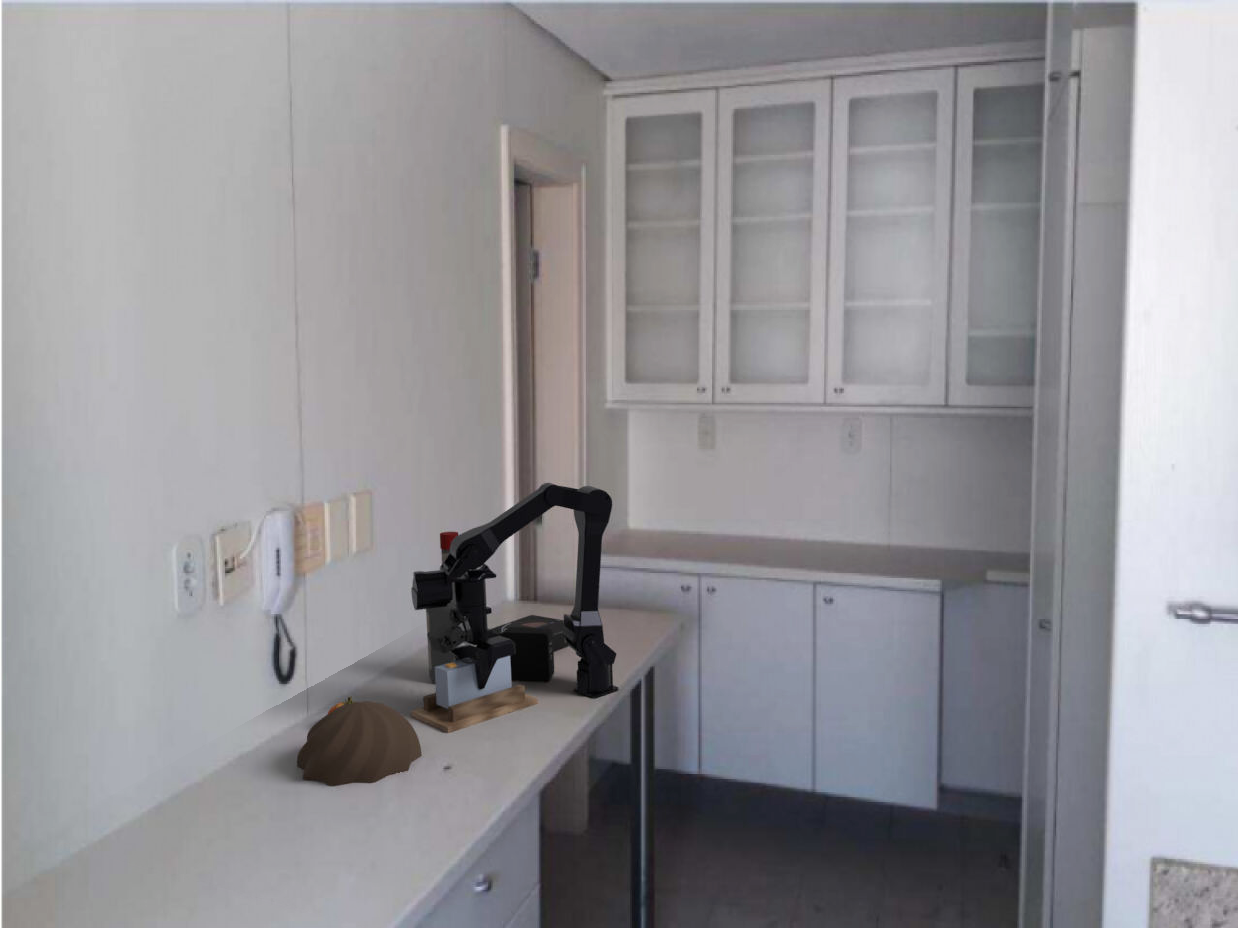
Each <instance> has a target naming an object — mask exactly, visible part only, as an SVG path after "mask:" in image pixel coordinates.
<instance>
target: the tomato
mask: <svg viewBox="0 0 1238 928" xmlns="http://www.w3.org/2000/svg"><path fill="white" fill-rule="evenodd" d="M353 702H355V701H354V700H352V696H348V697H347V699H345V700H344V702H337V703H336V704H335V705H333V706H332V707H331V708H330V709H329V710H328V712H327V714H326V715H328V714H329V713H331V712H332V711H333V710H334V709H336V708H338V707H340V706H342V705H345V704H350V703H353Z"/></svg>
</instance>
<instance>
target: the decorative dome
mask: <svg viewBox="0 0 1238 928" xmlns="http://www.w3.org/2000/svg"><path fill="white" fill-rule="evenodd" d="M327 714H328V713H327ZM327 714H326V715H325V716H324V717H321V718H320V719H319V720H318V721H317V722H315V723H314V725H312V727H311V728H310V729H309V731H308V733H307V735H306V742H305V743H304V744H303V745H302V747H301V749H300V750H299V751H298V754H297V756H296V766H297V767H298V769H300V770H302V771H303V775H302V780H304V781H316V782H322V783H324V784H326V785H328V786H330V787H338V786H344V785H350V784H375V783H377V782H379V781H381V780H383V779H384V778H386V776H387V777H388V776H392V775H393V776H394V775H397V774H396V773H398V774H401V773H400V772H402V773H405V771H406V772H408V771H409V770H410V767H411V764H412V763H413V762H414V761H416V760H418V759H419V758H421V757H422V747H421V743H420V740H419V736H418V734H417V731H416V730H415V729H414V727H413V725H412V724H411V723H410V722H409V721H408V719H406V717H404V716H403V715H402V714H401V713H400V712H398V711H397V710H395V709H394V708H392V707H390V706H389V705H388V706H387V705H386V704H383V703H379V702H373V701H368V700H362V701H354V702H353V703H350V704H345V705H342V706H340V707H338V708H336V709H334V710H333V711H332V712H331V713H329V714H328V715H327Z"/></svg>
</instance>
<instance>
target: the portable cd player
mask: <svg viewBox="0 0 1238 928" xmlns="http://www.w3.org/2000/svg"><path fill="white" fill-rule="evenodd" d="M508 627H527V628H550V629H551V630H552V631H553V645H554V653H555V652H558V651H560V650H563V649H566V648H568V647H570V646H569V645H568V644H567V642H566V640H565V636H564V635H563V634H562V632H563V630H564V619H558V618H553V617H547V616H541V615H535V614H530V615H526V616H525V617H521V618H518V619H514V620H513V621H510V622H506V623H504V624H501V625H497V626H495V627H492V628H491V629H492V632H493V635H491V636H487V638H486V639H489V638H493V637H497V636H500V634H501V631H504V629H507V628H508Z"/></svg>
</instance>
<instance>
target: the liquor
mask: <svg viewBox="0 0 1238 928" xmlns="http://www.w3.org/2000/svg"><path fill="white" fill-rule="evenodd" d="M458 535H459V532H458V531H443V532H440V533H439V544H440V545H439V547H440V549H441V551H440V552H441V553H440V554H441V564H442V563H443V562H444V560H445V559H446V557H447V556H448V554H449V553H450V546H451V542H452V540H453V539H454V538H455V537H456V536H458ZM452 588H453V599H452V600H451V602H450V603H448V604H447V606H446V607H438V608H430V609H425V614H426V615H425V617H426V634H427V633H428V632H430V631H431V630H432V629H434V628H435V627H437V626H438V625H440V624H441V623H443V622H446V621H447V620H449V613H450V612H451V611H450V610H451V609H455V596H454V582H453V583H452ZM426 637H427V638H426V639H427V653H428V655H427V656H428V659H427V661H428V675H429V678H430V679H431V682H432V683H434V684H435V685H436V682H435V667H436V666H440V665H444V664H447V663H451V662H454V661H456V660H455V657H454V656H453V655H452V654H451V653H449V652H447V653H441V652H440V651H438V650H433V649H432V646H431V644H430V641H429V639H428V636H427V635H426ZM476 642H477V641H476Z"/></svg>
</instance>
